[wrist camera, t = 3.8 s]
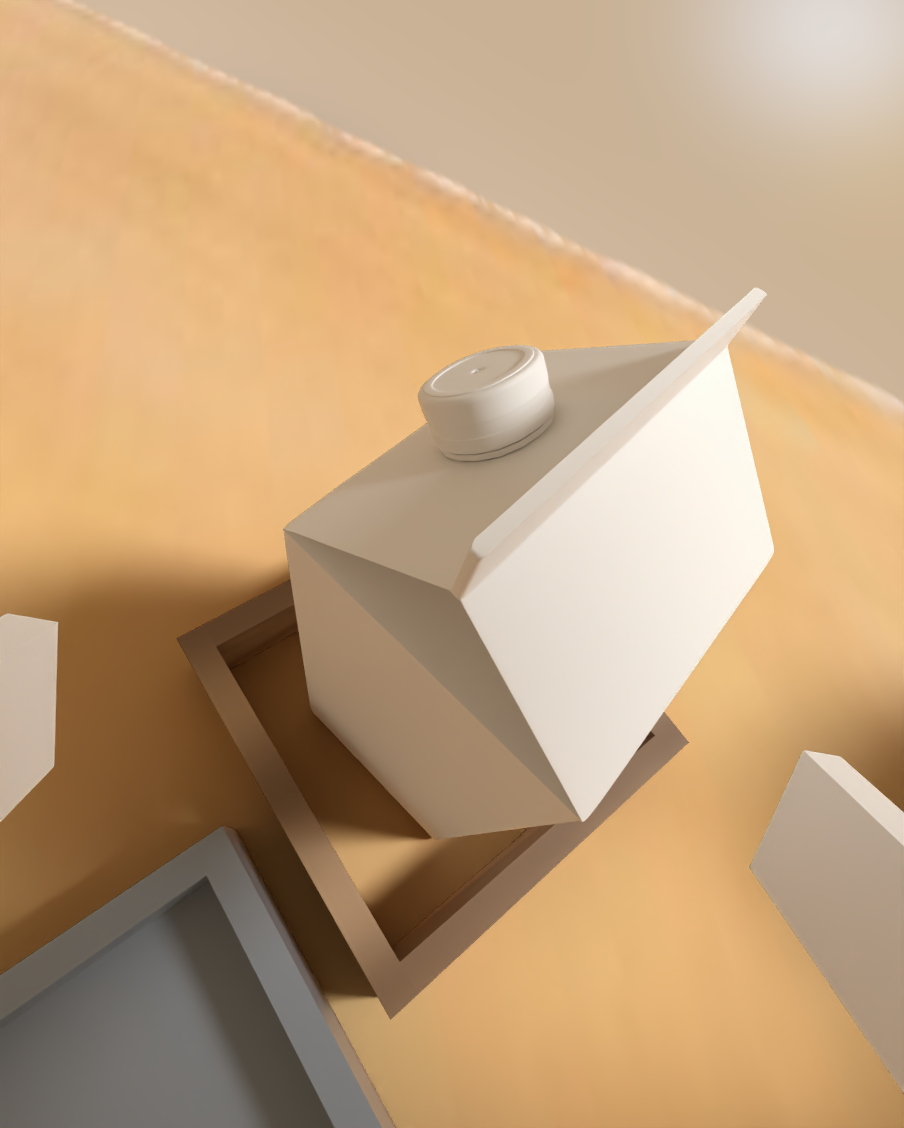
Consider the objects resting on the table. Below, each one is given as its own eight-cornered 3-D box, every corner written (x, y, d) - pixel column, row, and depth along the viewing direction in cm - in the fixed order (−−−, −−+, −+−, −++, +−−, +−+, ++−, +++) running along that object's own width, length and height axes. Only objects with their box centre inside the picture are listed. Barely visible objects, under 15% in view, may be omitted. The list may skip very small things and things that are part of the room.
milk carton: (544, 710, 25) (961, 427, 8) (434, 842, 22) (754, 806, 5) (428, 600, 26) (591, 169, 10) (309, 710, 23) (248, 351, 7)
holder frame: (651, 754, 25) (688, 742, 22) (382, 997, 20) (390, 1019, 17) (464, 516, 29) (477, 482, 26) (194, 663, 23) (176, 638, 21)
